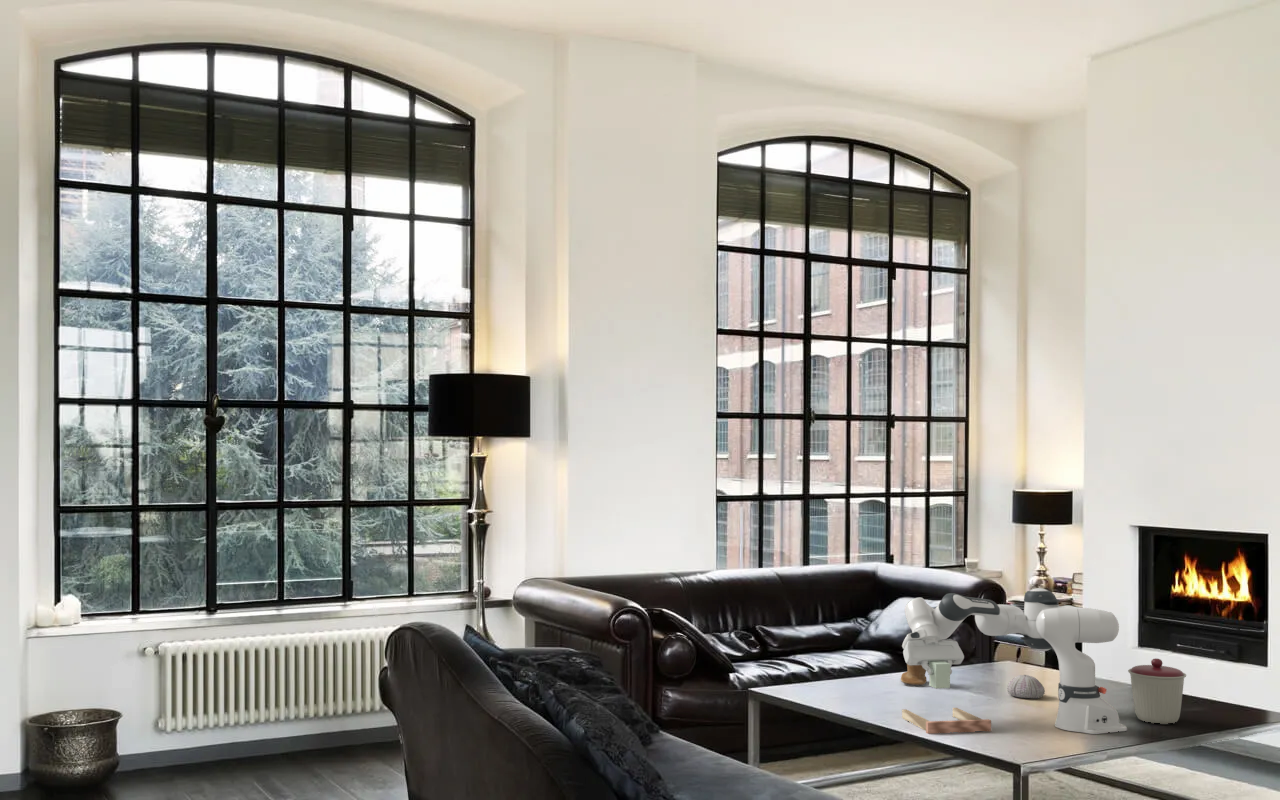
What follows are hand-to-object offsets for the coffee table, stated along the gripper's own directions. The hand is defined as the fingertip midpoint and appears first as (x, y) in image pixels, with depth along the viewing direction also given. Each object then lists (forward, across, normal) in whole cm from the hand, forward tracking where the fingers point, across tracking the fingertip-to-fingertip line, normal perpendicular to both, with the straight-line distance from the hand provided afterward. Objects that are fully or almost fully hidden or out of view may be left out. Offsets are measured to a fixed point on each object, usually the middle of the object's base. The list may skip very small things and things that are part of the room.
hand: (940, 673), depth 392 cm
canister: (+17, -75, -6) cm, 78 cm away
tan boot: (-36, -22, -59) cm, 73 cm away
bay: (+13, 0, -10) cm, 16 cm away
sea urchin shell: (-14, -52, -38) cm, 66 cm away
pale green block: (+3, 0, -4) cm, 4 cm away
